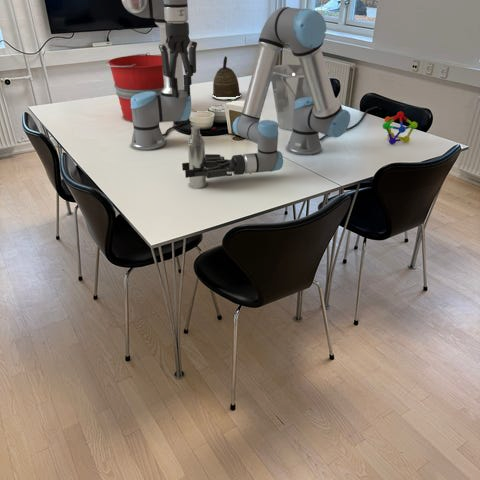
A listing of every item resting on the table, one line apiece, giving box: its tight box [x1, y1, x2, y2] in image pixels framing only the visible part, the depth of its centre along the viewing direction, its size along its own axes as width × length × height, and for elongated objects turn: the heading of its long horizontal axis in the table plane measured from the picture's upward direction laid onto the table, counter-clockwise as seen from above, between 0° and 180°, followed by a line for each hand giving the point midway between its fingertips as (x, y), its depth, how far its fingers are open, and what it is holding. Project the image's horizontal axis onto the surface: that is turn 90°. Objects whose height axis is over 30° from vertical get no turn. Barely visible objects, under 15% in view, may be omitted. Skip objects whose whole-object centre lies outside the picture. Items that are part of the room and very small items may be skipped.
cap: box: [178, 89, 188, 97], centre depth 153 cm, size 4×4×2 cm
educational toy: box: [382, 110, 418, 145], centre depth 207 cm, size 16×13×15 cm
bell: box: [212, 56, 242, 97], centre depth 278 cm, size 19×26×20 cm
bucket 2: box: [270, 63, 330, 131], centre depth 226 cm, size 30×30×28 cm
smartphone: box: [205, 153, 221, 169], centre depth 189 cm, size 7×1×15 cm
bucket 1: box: [105, 52, 164, 123], centre depth 239 cm, size 35×35×30 cm
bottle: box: [187, 125, 207, 189], centre depth 164 cm, size 6×6×22 cm
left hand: (181, 95), depth 154 cm, fingers closed on cap, 4 cm apart
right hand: (184, 170), depth 165 cm, fingers closed on bottle, 6 cm apart
